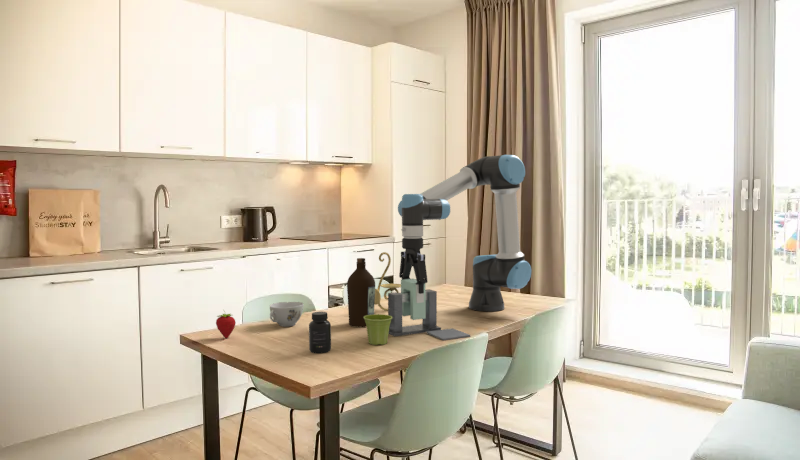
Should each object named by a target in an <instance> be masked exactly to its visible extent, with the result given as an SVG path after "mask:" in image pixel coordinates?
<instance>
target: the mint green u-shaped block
mask: <svg viewBox="0 0 800 460" xmlns="http://www.w3.org/2000/svg"><path fill="white" fill-rule="evenodd" d="M415 283H417V280H416V278H410V279H403V280H402V279H400V284H401V287H400V293H401V292H410V302H402V317H409V316H410V320H413V321H414V320H415V321H416V320H422V319H425V318H426V297H425V290H426V283H425V284H424V302H422V303H416V284H415Z"/></svg>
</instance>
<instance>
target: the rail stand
mask: <svg viewBox="0 0 800 460" xmlns="http://www.w3.org/2000/svg"><path fill="white" fill-rule="evenodd" d="M425 297H426V318H425V319H421V320H422V321H421V324H414V325H413V324H412V325H403V316H402V302H410V292H401V291H400V292H399V293H397V292H396V291H395V292H392V293H391V292H387V298H388V300H387V305H388V306H387V309H388V311H387V313H388V314H387V315H389V316H392V319H391V323H390V326H389V333H388V335H391V336H392V337H401V336H409V335H416V334H423V333H424V334H425V333H426V332H429V331H436V330H442V327H440V326H438V325H437V321H438V320H437V319H438V318H437V317H438V316H437V311H438V310H437V308H438V307H437V302H438V301H437V298H438V297H437V291H436V290H434V289H425Z"/></svg>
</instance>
